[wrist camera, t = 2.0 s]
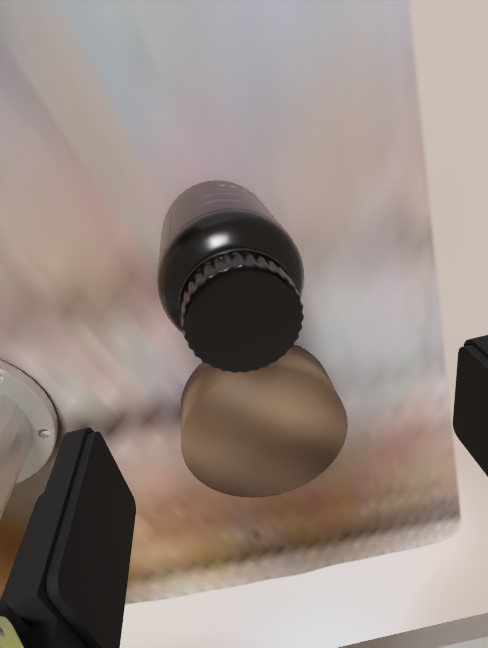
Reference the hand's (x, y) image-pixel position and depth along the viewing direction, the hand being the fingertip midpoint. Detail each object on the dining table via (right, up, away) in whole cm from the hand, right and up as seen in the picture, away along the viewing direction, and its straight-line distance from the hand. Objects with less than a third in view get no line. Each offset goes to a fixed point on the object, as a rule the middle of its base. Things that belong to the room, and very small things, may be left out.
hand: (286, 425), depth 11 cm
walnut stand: (0, -4, +23) cm, 23 cm away
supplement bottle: (-3, +8, +16) cm, 18 cm away
